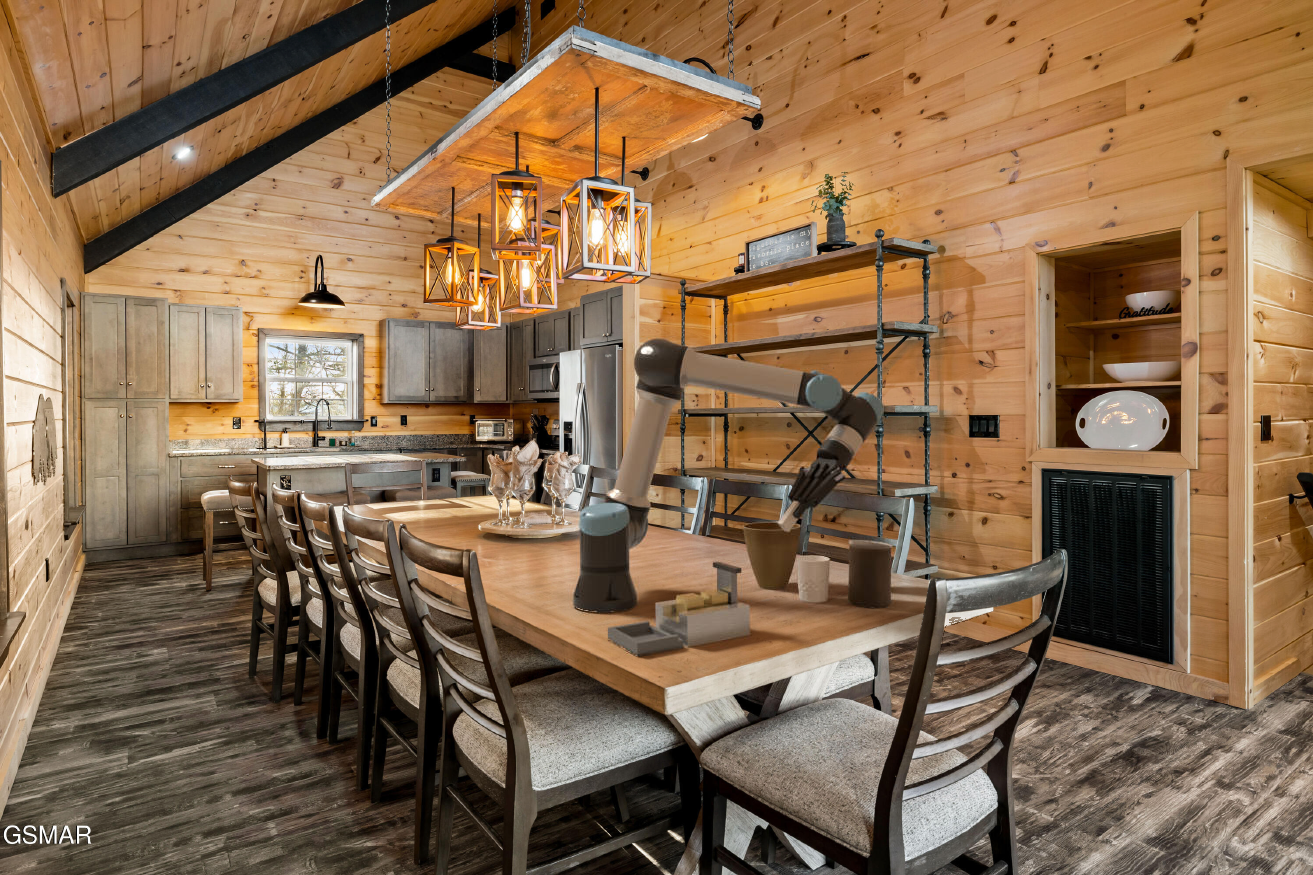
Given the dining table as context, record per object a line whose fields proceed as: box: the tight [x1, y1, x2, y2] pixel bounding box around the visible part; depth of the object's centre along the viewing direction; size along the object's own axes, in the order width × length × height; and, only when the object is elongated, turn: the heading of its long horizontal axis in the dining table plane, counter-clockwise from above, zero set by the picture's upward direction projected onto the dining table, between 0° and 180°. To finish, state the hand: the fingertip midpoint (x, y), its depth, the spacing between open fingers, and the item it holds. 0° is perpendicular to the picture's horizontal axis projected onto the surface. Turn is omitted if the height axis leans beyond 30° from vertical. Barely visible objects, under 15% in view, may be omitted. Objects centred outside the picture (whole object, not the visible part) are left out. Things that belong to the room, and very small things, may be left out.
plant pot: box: [742, 521, 801, 590], centre depth 190 cm, size 15×15×16 cm
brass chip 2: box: [700, 588, 728, 608], centre depth 150 cm, size 4×4×4 cm
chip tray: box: [607, 620, 684, 657], centre depth 141 cm, size 10×12×2 cm
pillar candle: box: [847, 539, 892, 608], centre depth 172 cm, size 10×10×15 cm
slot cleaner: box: [712, 561, 742, 604], centre depth 151 cm, size 2×8×9 cm, turn 31°
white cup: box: [796, 554, 831, 604], centre depth 175 cm, size 8×8×10 cm
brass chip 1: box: [675, 592, 704, 616], centre depth 147 cm, size 4×4×4 cm
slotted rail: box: [655, 599, 751, 648], centre depth 148 cm, size 15×12×6 cm
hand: (783, 527), depth 159 cm, fingers closed
